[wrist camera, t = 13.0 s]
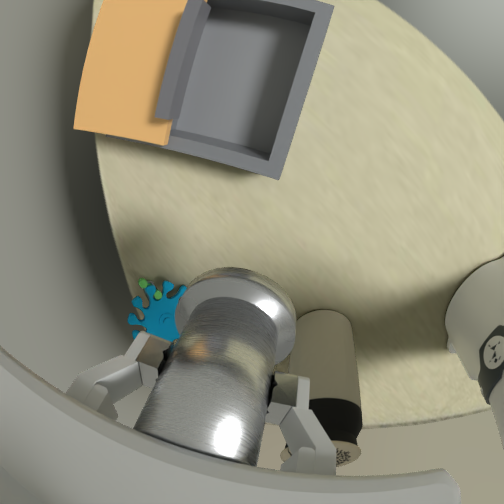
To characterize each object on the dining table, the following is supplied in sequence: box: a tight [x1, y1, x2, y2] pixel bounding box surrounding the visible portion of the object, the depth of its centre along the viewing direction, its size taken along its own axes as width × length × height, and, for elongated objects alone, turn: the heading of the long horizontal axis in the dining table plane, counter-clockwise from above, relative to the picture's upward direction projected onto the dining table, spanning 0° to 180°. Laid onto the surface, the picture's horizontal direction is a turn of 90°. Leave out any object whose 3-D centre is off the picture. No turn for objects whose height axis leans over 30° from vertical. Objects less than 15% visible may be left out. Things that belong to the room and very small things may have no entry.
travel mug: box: [280, 310, 362, 467], centre depth 27 cm, size 8×8×18 cm
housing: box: [106, 0, 334, 180], centre depth 21 cm, size 17×16×5 cm
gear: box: [128, 278, 187, 342], centre depth 35 cm, size 11×6×10 cm
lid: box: [74, 0, 211, 146], centre depth 17 cm, size 12×15×3 cm
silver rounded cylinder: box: [133, 267, 296, 467], centre depth 11 cm, size 6×6×8 cm
